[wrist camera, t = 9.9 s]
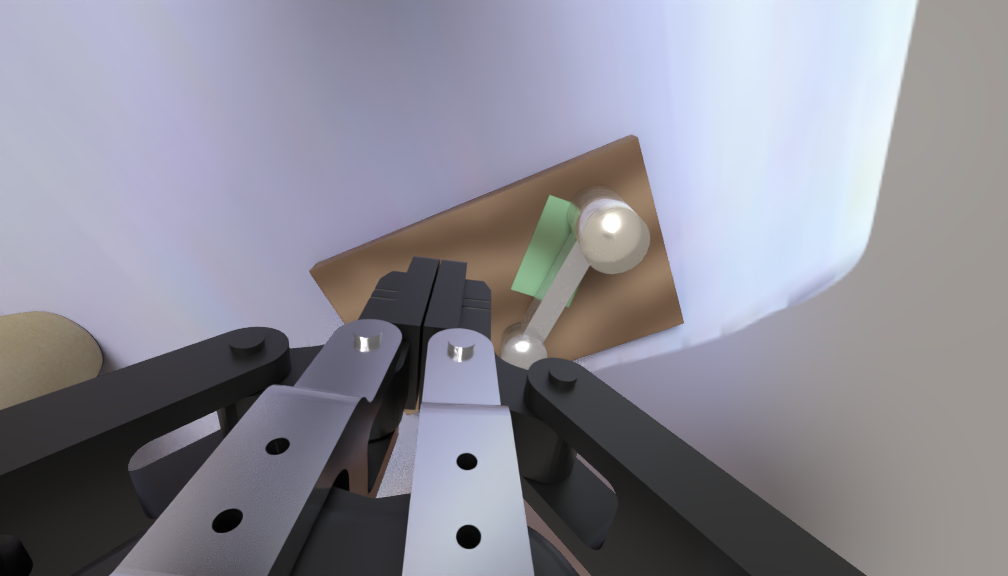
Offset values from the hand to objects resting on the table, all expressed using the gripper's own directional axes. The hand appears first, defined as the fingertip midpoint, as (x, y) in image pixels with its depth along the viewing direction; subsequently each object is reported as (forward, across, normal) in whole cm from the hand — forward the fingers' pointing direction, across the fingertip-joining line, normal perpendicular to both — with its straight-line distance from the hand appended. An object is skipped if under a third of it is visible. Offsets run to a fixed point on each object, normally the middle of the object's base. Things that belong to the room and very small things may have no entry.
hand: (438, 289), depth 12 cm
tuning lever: (+19, -8, +8) cm, 22 cm away
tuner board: (+21, -4, +10) cm, 24 cm away
